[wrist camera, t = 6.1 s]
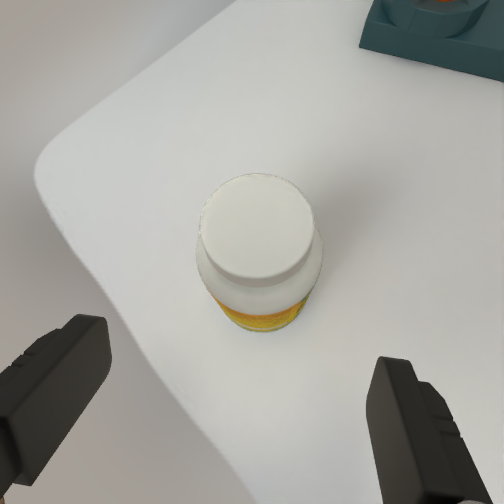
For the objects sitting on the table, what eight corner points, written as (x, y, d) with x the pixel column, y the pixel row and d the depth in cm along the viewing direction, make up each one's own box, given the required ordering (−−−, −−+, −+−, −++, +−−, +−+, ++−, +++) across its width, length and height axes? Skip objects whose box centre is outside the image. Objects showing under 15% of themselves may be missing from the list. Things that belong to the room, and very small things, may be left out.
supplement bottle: (221, 246, 22) (188, 153, 13) (306, 248, 22) (333, 155, 13) (214, 332, 20) (168, 294, 11) (307, 337, 20) (338, 301, 11)
